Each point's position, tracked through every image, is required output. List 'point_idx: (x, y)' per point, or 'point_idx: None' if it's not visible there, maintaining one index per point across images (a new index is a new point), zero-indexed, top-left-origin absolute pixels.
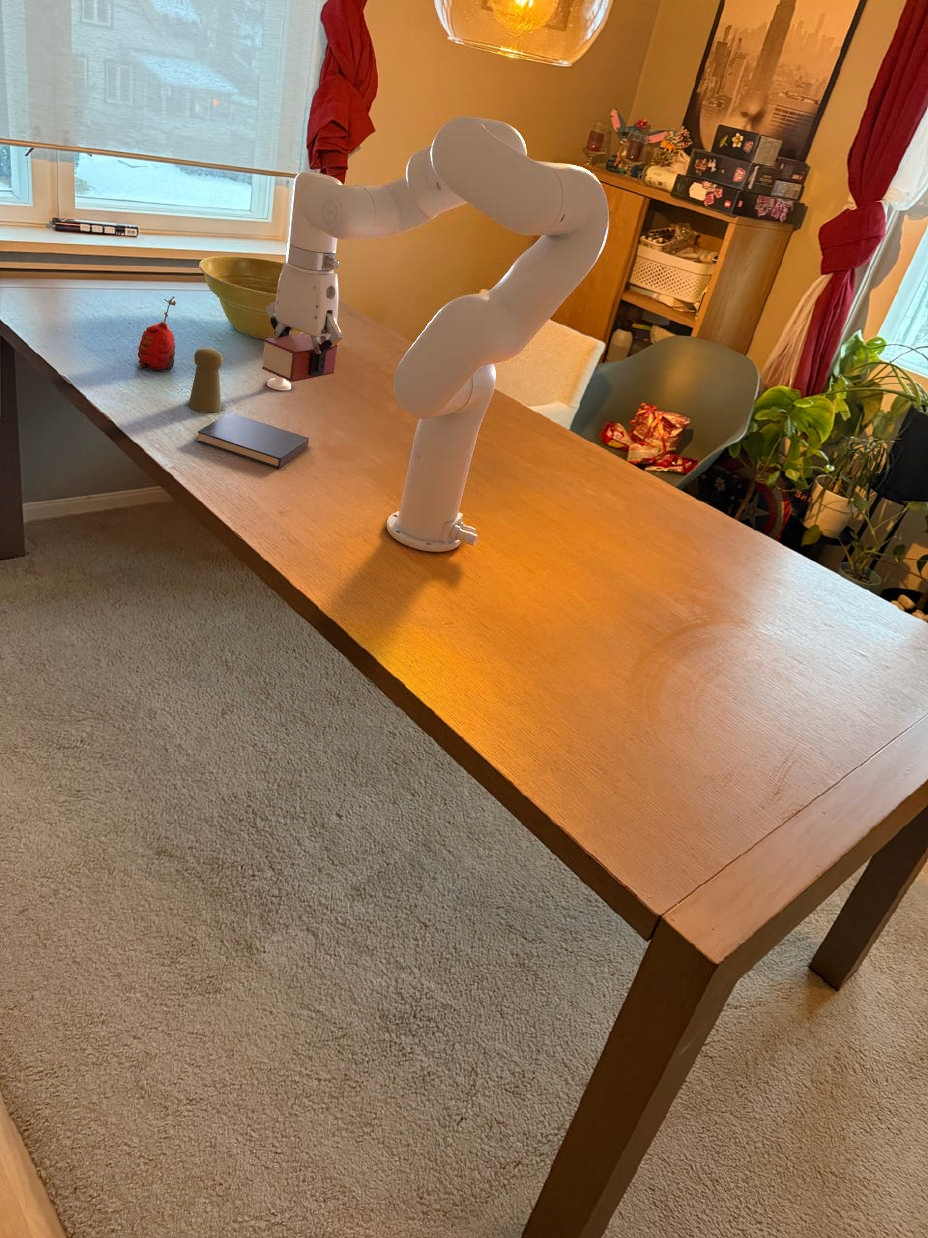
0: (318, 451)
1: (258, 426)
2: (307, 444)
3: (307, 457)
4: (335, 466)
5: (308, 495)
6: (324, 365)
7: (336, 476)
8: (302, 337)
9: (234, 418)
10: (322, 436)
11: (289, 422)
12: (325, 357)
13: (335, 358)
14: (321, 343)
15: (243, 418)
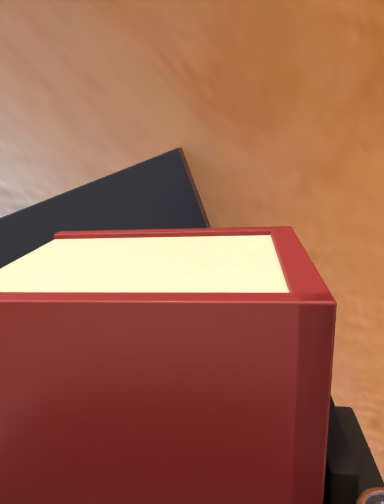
0: (210, 134)
1: (69, 223)
2: (181, 151)
3: (222, 191)
4: (297, 162)
5: (360, 333)
6: (360, 430)
7: (337, 205)
8: (45, 450)
9: (11, 244)
10: (141, 41)
11: (32, 65)
12: (381, 480)
13: (308, 256)
14: (231, 423)
15: (17, 224)
